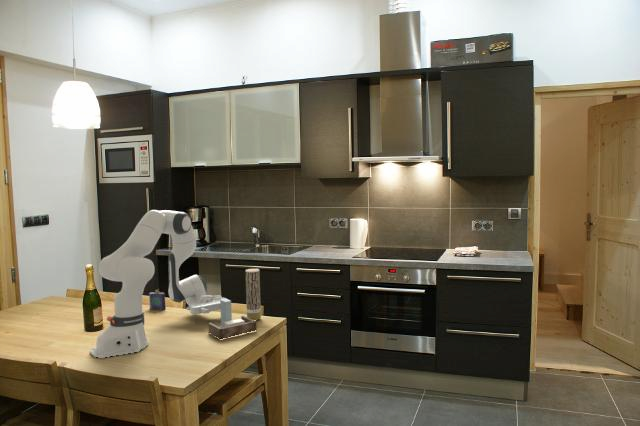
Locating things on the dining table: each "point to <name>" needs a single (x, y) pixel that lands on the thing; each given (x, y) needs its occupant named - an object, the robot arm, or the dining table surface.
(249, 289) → the brown patterned cylinder
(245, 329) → the brown basket
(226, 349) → the dining table surface
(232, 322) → the offcut upper
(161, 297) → the flask
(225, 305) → the blue-grey block
